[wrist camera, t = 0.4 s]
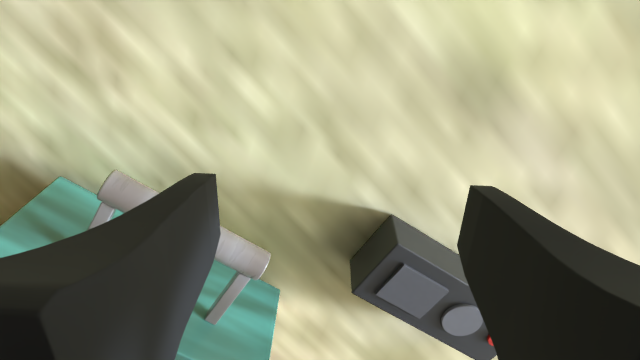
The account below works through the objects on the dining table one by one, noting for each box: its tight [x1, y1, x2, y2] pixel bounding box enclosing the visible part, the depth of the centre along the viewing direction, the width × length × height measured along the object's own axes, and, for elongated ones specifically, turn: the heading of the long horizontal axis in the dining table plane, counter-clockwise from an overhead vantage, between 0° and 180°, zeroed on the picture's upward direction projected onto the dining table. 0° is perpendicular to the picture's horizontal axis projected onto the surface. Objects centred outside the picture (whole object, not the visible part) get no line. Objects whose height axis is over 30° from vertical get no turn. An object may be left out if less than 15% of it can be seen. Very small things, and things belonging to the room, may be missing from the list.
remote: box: [350, 214, 497, 360], centre depth 25 cm, size 4×10×3 cm, turn 56°
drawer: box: [0, 170, 280, 360], centre depth 23 cm, size 17×13×7 cm
